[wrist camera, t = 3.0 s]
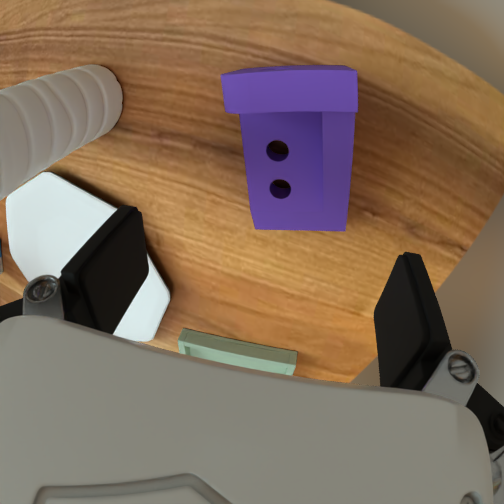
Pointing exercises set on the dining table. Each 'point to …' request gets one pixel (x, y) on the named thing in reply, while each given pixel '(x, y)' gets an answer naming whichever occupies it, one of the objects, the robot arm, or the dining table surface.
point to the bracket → (296, 142)
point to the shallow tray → (237, 352)
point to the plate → (73, 243)
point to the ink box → (0, 266)
